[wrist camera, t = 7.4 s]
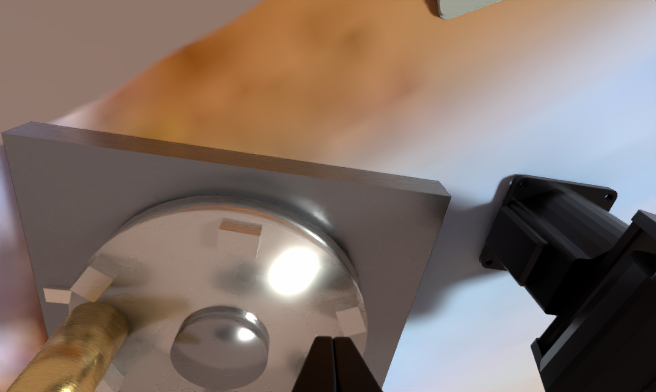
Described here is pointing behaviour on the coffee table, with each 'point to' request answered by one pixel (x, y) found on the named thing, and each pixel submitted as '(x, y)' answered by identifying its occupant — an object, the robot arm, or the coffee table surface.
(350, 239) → the base plate
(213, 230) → the silver round platform
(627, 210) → the coffee table surface
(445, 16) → the metal bracket
